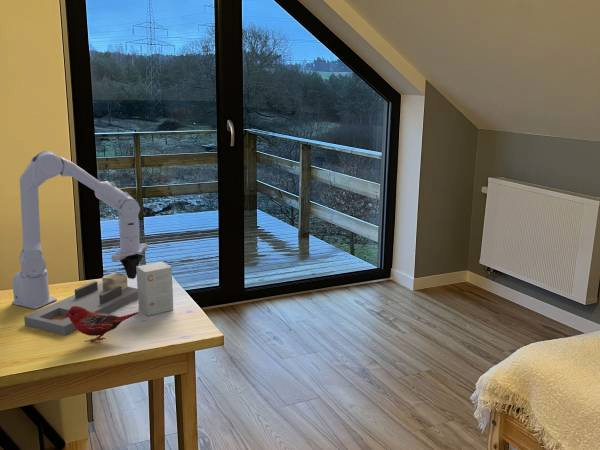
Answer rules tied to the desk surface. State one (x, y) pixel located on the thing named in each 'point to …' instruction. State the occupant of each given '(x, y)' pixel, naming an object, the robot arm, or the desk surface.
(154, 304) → the small box
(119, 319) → the decorative bird figurine
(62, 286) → the desk surface
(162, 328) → the desk surface
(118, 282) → the maple block
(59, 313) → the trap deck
